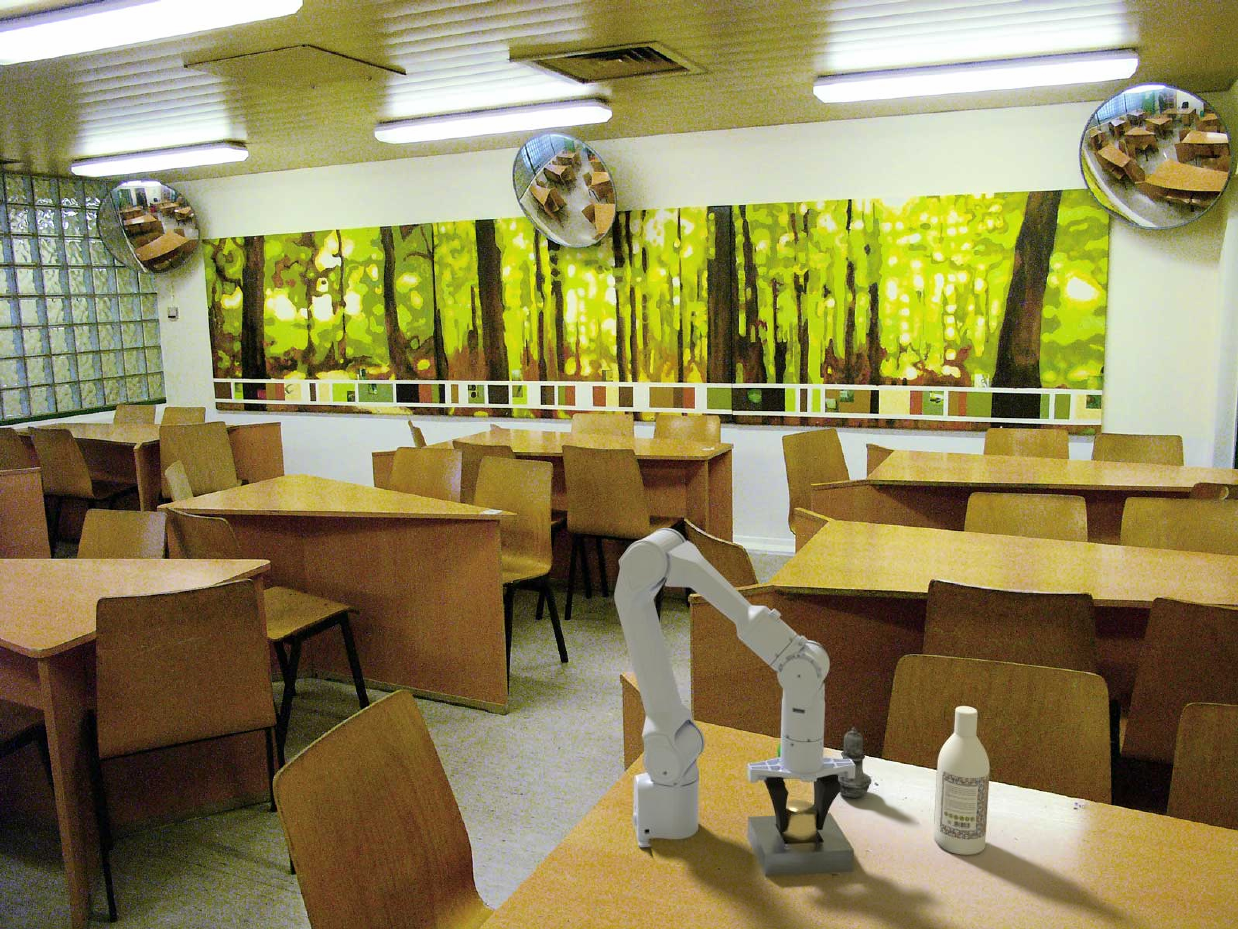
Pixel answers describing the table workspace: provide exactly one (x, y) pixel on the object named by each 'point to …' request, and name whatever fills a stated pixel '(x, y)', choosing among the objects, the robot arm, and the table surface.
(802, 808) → the plug
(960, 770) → the bath foam
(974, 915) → the table surface
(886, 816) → the table surface
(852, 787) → the grey chess piece
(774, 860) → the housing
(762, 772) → the robot arm
